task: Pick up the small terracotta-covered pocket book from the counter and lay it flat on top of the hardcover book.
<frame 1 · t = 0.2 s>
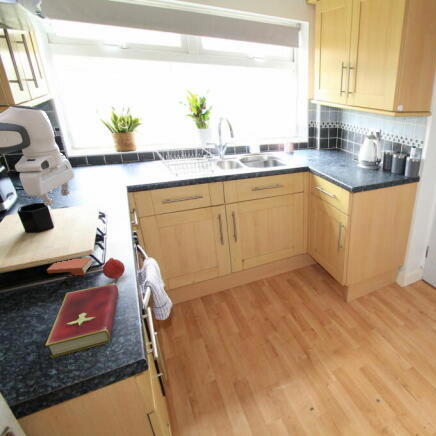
hand: (58, 199, 107), 21 cm above the worktop, tool pointing down, fingers open, 8 cm apart
hardcover book: (89, 322, 85), on the worktop
pocket book: (72, 271, 106), on the worktop
red round piece: (116, 279, 103), on the worktop
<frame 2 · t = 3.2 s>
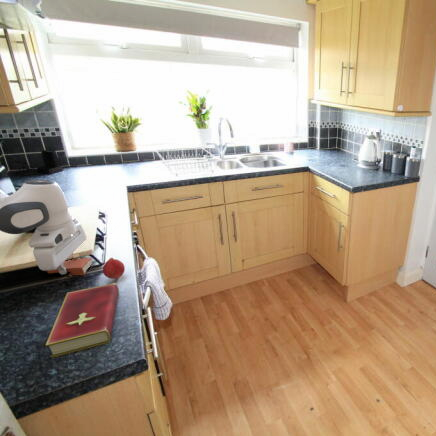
hand: (70, 266, 105), 2 cm above the worktop, tool pointing down, fingers closed on pocket book, 6 cm apart
pocket book: (72, 271, 106), on the worktop, touching gripper
everything else where it was.
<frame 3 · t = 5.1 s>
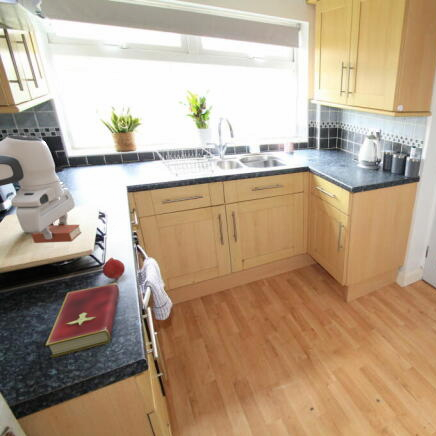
hand: (57, 232, 99), 15 cm above the worktop, tool pointing down, fingers closed on pocket book, 6 cm apart
pocket book: (58, 237, 100), point 13 cm above the worktop, touching gripper
everything else where it was.
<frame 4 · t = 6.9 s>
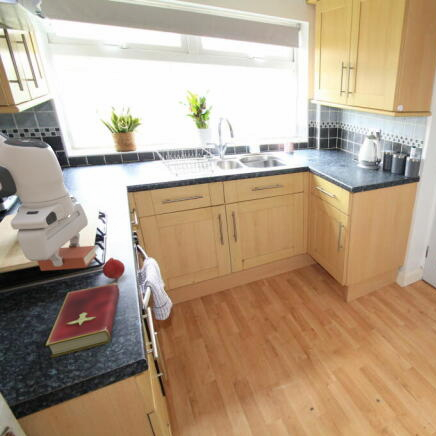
hand: (68, 257, 82), 18 cm above the worktop, tool pointing down, fingers closed on pocket book, 6 cm apart
pocket book: (70, 262, 83), point 16 cm above the worktop, touching gripper
everything else where it was.
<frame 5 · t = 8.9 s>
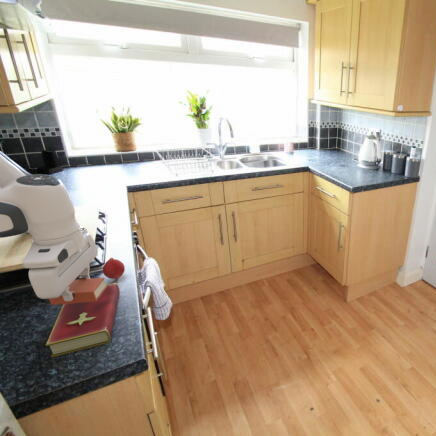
hand: (78, 290, 81), 10 cm above the worktop, tool pointing down, fingers closed on pocket book, 6 cm apart
pocket book: (80, 295, 82), point 9 cm above the worktop, touching gripper
everything else where it was.
when the fingers open (6 cm above the worktop, at t = 10.5 s): pocket book stays where it is, resting on hardcover book.
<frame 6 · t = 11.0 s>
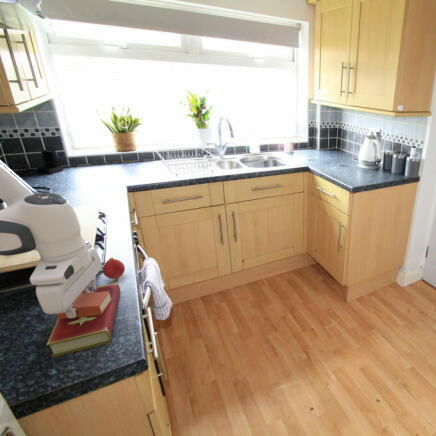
hand: (83, 303, 83), 6 cm above the worktop, tool pointing down, fingers open, 8 cm apart
hardcover book: (91, 321, 86), on the worktop, touching pocket book
pocket book: (86, 309, 84), point 4 cm above the worktop, touching hardcover book
everything else where it was.
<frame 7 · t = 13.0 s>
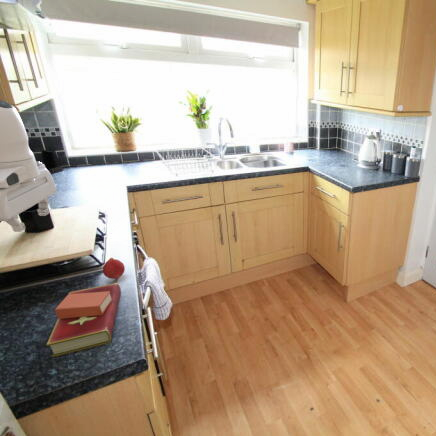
hand: (32, 222, 82), 25 cm above the worktop, tool pointing down, fingers open, 8 cm apart
nothing on the worktop moved.
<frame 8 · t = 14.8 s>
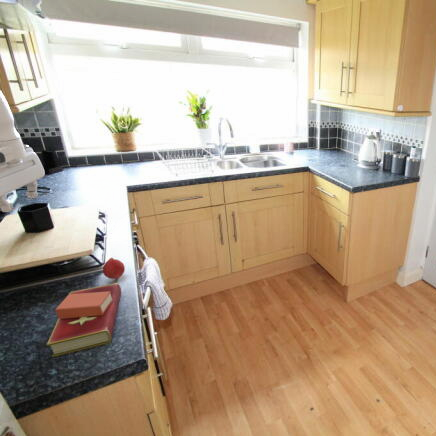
hand: (21, 203, 83), 29 cm above the worktop, tool pointing down, fingers open, 8 cm apart
nothing on the worktop moved.
at the end: pocket book inside the target area on the hardcover book (0.2 cm from its centre), point 4.4 cm above the hardcover book's base; pocket book tilted 0°; the gripper is holding nothing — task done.
